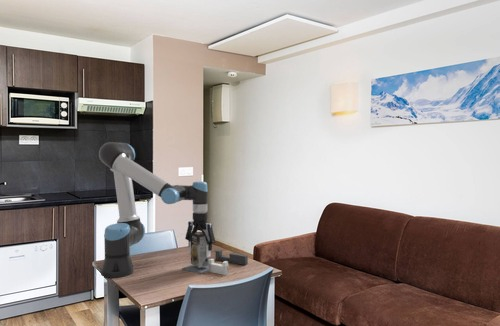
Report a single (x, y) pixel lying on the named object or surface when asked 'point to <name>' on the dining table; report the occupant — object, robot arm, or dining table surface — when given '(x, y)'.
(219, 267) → the clip jaw
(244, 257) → the tie bar
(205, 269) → the mat
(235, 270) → the dining table surface
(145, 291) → the dining table surface
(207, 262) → the coffee box
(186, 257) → the dining table surface
